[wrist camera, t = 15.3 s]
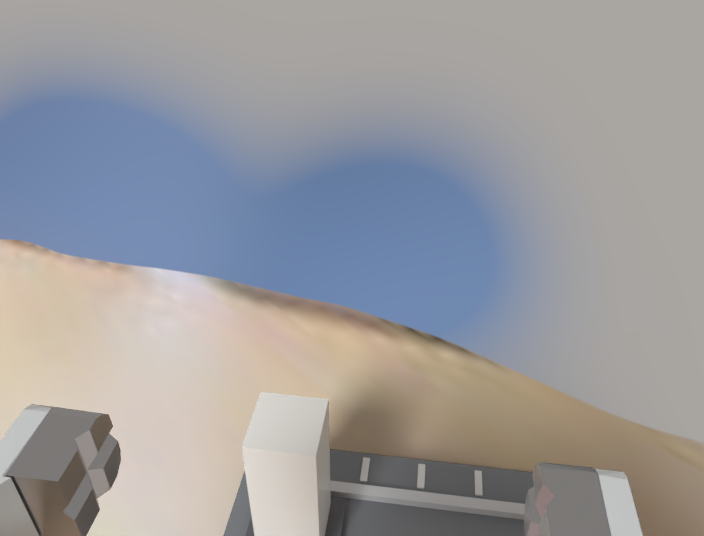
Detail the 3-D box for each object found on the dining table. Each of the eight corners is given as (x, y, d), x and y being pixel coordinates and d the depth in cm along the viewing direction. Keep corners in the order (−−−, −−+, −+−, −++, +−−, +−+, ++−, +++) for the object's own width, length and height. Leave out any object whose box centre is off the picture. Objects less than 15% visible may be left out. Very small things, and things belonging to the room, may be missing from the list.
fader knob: (346, 503, 42) (347, 394, 36) (335, 574, 38) (333, 466, 32) (259, 492, 43) (245, 383, 37) (239, 561, 39) (220, 453, 33)
